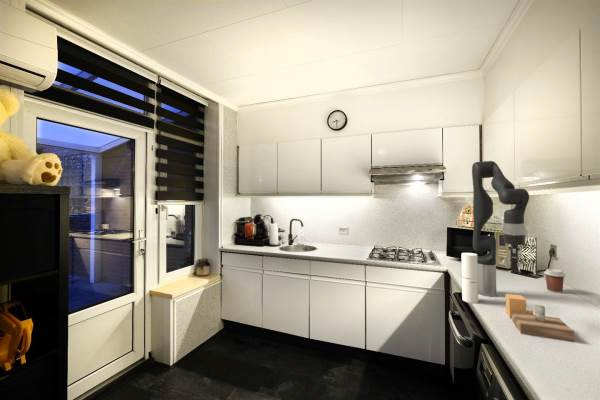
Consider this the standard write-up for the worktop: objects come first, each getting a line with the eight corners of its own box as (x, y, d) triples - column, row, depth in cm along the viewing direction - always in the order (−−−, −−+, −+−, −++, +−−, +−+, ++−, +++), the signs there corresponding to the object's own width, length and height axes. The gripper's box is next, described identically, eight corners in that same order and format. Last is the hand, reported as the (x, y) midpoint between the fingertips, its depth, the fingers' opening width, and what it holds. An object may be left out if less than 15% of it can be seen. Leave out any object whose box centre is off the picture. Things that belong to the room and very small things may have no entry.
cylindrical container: (463, 297, 147) (462, 252, 146) (478, 300, 142) (478, 253, 142) (461, 301, 141) (460, 254, 141) (477, 304, 136) (476, 256, 136)
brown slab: (511, 320, 118) (511, 298, 118) (559, 327, 111) (558, 303, 111) (521, 333, 107) (520, 309, 107) (574, 341, 100) (573, 315, 100)
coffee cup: (570, 294, 147) (570, 272, 147) (551, 293, 148) (550, 272, 148) (558, 288, 156) (557, 268, 156) (540, 288, 157) (539, 268, 157)
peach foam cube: (509, 318, 121) (509, 298, 121) (506, 312, 126) (505, 293, 126) (535, 321, 117) (534, 301, 117) (530, 315, 122) (529, 296, 122)
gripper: (504, 230, 127) (504, 263, 127) (502, 234, 116) (503, 271, 116) (524, 231, 122) (524, 266, 123) (525, 236, 111) (525, 274, 112)
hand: (514, 268), depth 120 cm, fingers open, 8 cm apart
